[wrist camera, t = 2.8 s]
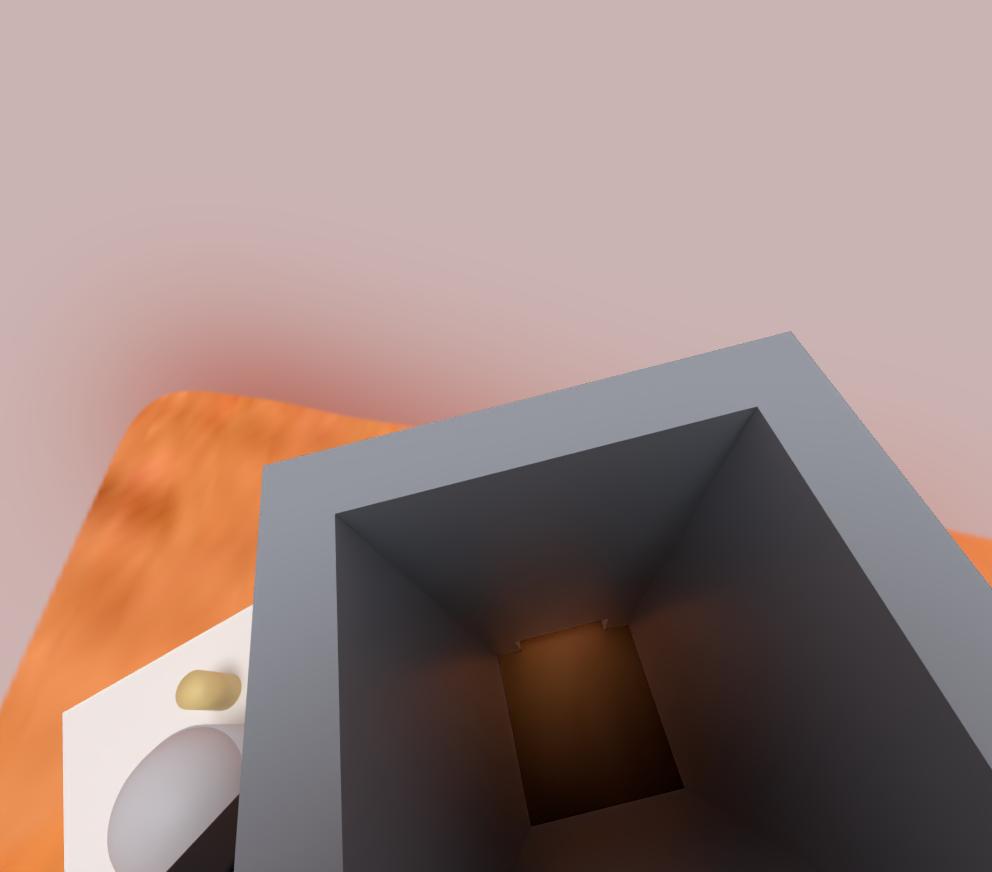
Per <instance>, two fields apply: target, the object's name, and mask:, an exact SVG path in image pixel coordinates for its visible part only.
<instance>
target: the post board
mask: <svg viewBox="0 0 992 872" xmlns="http://www.w3.org/2000/svg"><path fill="white" fill-rule="evenodd" d="M252 614H253V605H251V606H249V607H248V608H246V609H244V610H242V611H241V612H239V613H237V614H235V615H233V616H232V617H230V618H228V619H226V620H225V621H223V622H221V623H219V624H218V625H216V626H214V627H212V628H211V629H209V630H207V631H205V632H204V633H202V634H200V635H198V636H197V637H195V638H193V639H191V640H190V641H188V642H186V643H184V644H183V645H181V646H179V647H177V648H176V649H174V650H172V651H170V652H169V653H167V654H165V655H163V656H162V657H160V658H158V659H156V660H155V661H153V662H151V663H149V664H148V665H146V666H144V667H142V668H141V669H139V670H137V671H135V672H134V673H132V674H130V675H128V676H127V677H125V678H123V679H121V680H120V681H118V682H116V683H114V684H113V685H111V686H109V687H107V688H106V689H104V690H102V691H100V692H98V693H97V694H95V695H93V696H91V697H90V698H88V699H86V700H84V701H83V702H81V703H79V704H77V705H76V706H74V707H72V708H70V709H69V710H67V711H65V712H63V792H64V872H166V871H167V870H168V869H169V868H170V867H171V866H172V865H173V864H174V863H175V862H176V861H177V859H178V858H179V857H180V856H181V855H182V854H183V853H184V852H185V851H186V850H187V849H188V848H189V847H190V846H191V845H192V843H193V842H194V841H195V840H196V839H197V838H198V837H199V836H200V835H201V834H202V833H203V832H204V831H205V830H206V828H207V827H208V826H209V825H210V824H211V823H212V822H213V821H214V820H215V819H216V818H217V817H218V816H219V815H220V814H221V812H222V811H223V810H224V809H225V808H226V807H227V806H228V805H229V804H230V803H231V802H232V801H233V800H234V799H235V797H236V796H237V795H238V794H239V793H240V780H241V766H242V752H243V738H244V724H245V710H246V697H247V683H248V669H249V655H250V641H251V627H252Z"/></svg>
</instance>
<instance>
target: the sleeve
mask: <svg viewBox="0 0 992 872" xmlns="http://www.w3.org/2000/svg"><path fill="white" fill-rule="evenodd" d="M597 621H601V622H602V625H603V628H604V630H606V629H610V628H614V627H618V626H622V625H626V624H628V626H629V629H630V632H631V635H632V638H633V640H634V643H635V646H636V649H637V652H638V655H639V658H640V661H641V664H642V667H643V669H644V672H645V675H646V678H647V681H648V684H649V687H650V690H651V693H652V695H653V698H654V701H655V704H656V707H657V710H658V713H659V716H660V719H661V721H662V724H663V727H664V730H665V733H666V736H667V739H668V742H669V745H670V748H671V750H672V753H673V756H674V759H675V762H676V765H677V768H678V771H679V774H680V776H681V779H682V782H683V785H684V788H683V789H679V790H675V791H671V792H667V793H664V794H660V795H656V796H652V797H648V798H644V799H640V800H636V801H632V802H628V803H624V804H620V805H616V806H612V807H608V808H604V809H600V810H596V811H592V812H588V813H584V814H580V815H576V816H572V817H568V818H564V819H560V820H556V821H552V822H548V823H544V824H540V825H536V826H532V827H531V825H530V820H529V815H528V809H527V804H526V799H525V794H524V789H523V784H522V779H521V773H520V768H519V763H518V758H517V753H516V748H515V742H514V737H513V732H512V727H511V722H510V717H509V712H508V706H507V701H506V696H505V691H504V686H503V681H502V676H501V670H500V665H499V660H498V657H499V656H503V655H507V654H511V653H515V652H519V651H521V646H520V642H519V641H522V640H526V639H530V638H534V637H538V636H542V635H546V634H550V633H554V632H558V631H562V630H566V629H569V628H573V627H577V626H581V625H585V624H589V623H593V622H597ZM234 872H992V588H991V586H990V585H989V584H988V583H987V581H986V580H985V579H984V577H983V576H982V575H981V574H980V572H979V571H978V570H977V569H976V567H975V566H974V565H973V563H972V562H971V561H970V560H969V558H968V557H967V556H966V554H965V553H964V552H963V551H962V549H961V548H960V547H959V545H958V544H957V543H956V542H955V540H954V539H953V538H952V537H951V535H950V534H949V533H948V531H947V530H946V529H945V528H944V526H943V525H942V524H941V523H940V521H939V520H938V519H937V518H936V516H935V515H934V514H933V512H932V511H931V510H930V509H929V507H928V506H927V505H926V503H925V502H924V501H923V500H922V498H921V497H920V496H919V494H918V493H917V492H916V490H915V489H914V488H913V487H912V485H911V484H910V483H909V482H908V480H907V479H906V478H905V476H904V475H903V474H902V473H901V471H900V470H899V469H898V467H897V466H896V465H895V464H894V462H893V461H892V460H891V458H890V457H889V456H888V455H887V454H886V452H885V451H884V450H883V448H882V447H881V446H880V444H879V443H878V442H877V441H876V439H875V438H874V437H873V435H872V434H871V433H870V432H869V430H868V429H867V428H866V426H865V425H864V424H863V423H862V421H861V420H860V419H859V418H858V416H857V415H856V414H855V412H854V411H853V410H852V409H851V407H850V406H849V405H848V404H847V402H846V401H845V400H844V398H843V397H842V396H841V394H840V393H839V392H838V391H837V390H836V388H835V387H834V386H833V384H832V383H831V382H830V380H829V379H828V378H827V377H826V375H825V374H824V373H823V372H822V370H821V369H820V368H819V366H818V365H817V364H816V363H815V361H814V360H813V359H812V357H811V356H810V355H809V354H808V352H807V351H806V350H805V348H804V347H803V346H802V345H801V343H800V342H799V341H798V340H797V338H796V337H795V336H794V334H793V333H792V332H791V331H790V332H786V333H782V334H778V335H774V336H771V337H767V338H763V339H759V340H755V341H751V342H747V343H743V344H739V345H735V346H731V347H727V348H724V349H719V350H716V351H712V352H708V353H704V354H700V355H696V356H692V357H688V358H684V359H680V360H677V361H673V362H669V363H665V364H661V365H657V366H653V367H649V368H645V369H641V370H637V371H633V372H629V373H625V374H622V375H617V376H614V377H610V378H606V379H602V380H598V381H594V382H590V383H586V384H582V385H578V386H574V387H570V388H566V389H563V390H559V391H555V392H551V393H547V394H543V395H539V396H535V397H531V398H528V399H523V400H519V401H515V402H512V403H508V404H504V405H500V406H496V407H492V408H488V409H484V410H480V411H476V412H472V413H469V414H465V415H461V416H457V417H453V418H449V419H445V420H441V421H437V422H433V423H429V424H425V425H421V426H417V427H413V428H410V429H406V430H402V431H398V432H394V433H390V434H386V435H382V436H378V437H374V438H370V439H366V440H362V441H359V442H355V443H351V444H347V445H343V446H339V447H335V448H331V449H327V450H323V451H319V452H315V453H311V454H307V455H304V456H300V457H296V458H292V459H288V460H284V461H280V462H276V463H272V464H268V465H264V466H263V475H262V489H261V503H260V517H259V531H258V544H257V558H256V572H255V586H254V600H253V614H252V627H251V641H250V655H249V669H248V683H247V697H246V710H245V724H244V738H243V752H242V766H241V780H240V793H239V807H238V821H237V835H236V849H235V863H234Z"/></svg>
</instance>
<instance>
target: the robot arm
mask: <svg viewBox="0 0 992 872" xmlns="http://www.w3.org/2000/svg"><path fill="white" fill-rule="evenodd" d="M238 807H239V794H238V795H237V796H236V797H235V799H234V800H233V801H232V802H231V803H230V804H229V805H228V806H227V807H226V808H225V809H224V810H223V811H222V812H221V814H220V815H219V816H218V817H217V818H216V819H215V820H214V821H213V822H212V823H211V824H210V825H209V826H208V827H207V828H206V830H205V831H204V832H203V833H202V834H201V835H200V836H199V837H198V838H197V839H196V840H195V841H194V842H193V843H192V845H191V846H190V847H189V848H188V849H187V850H186V851H185V852H184V853H183V854H182V855H181V856H180V857H179V858H178V859H177V861H176V862H175V863H174V864H173V865H172V866H171V867H170V868H169V869H168V870H167V871H166V872H234V863H235V849H236V835H237V821H238Z"/></svg>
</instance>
